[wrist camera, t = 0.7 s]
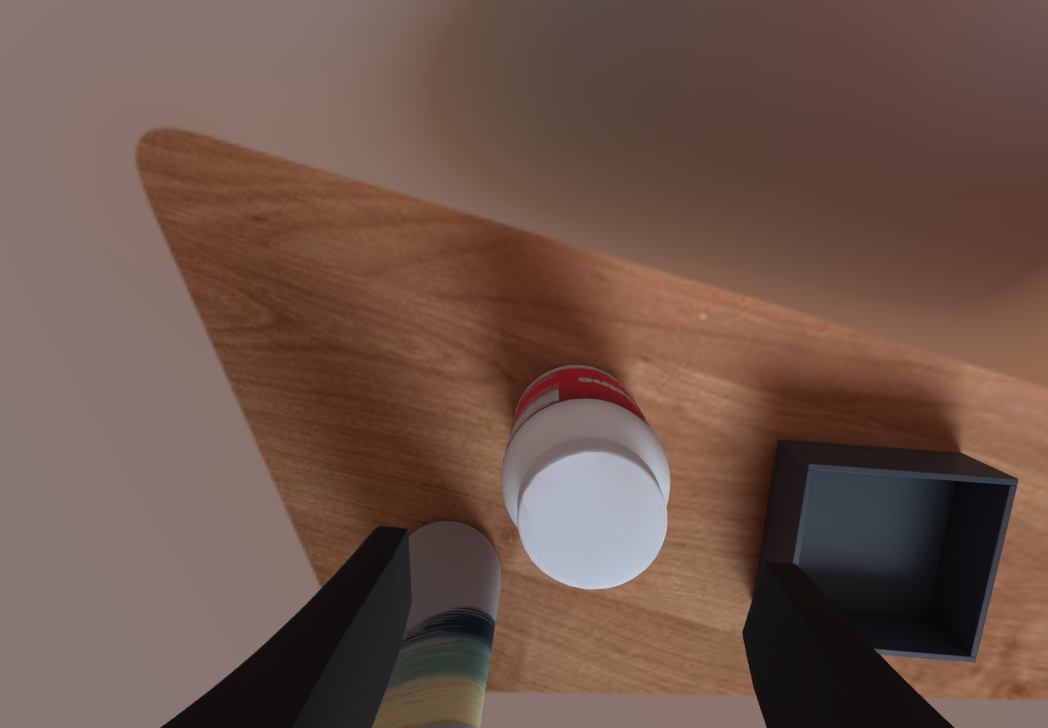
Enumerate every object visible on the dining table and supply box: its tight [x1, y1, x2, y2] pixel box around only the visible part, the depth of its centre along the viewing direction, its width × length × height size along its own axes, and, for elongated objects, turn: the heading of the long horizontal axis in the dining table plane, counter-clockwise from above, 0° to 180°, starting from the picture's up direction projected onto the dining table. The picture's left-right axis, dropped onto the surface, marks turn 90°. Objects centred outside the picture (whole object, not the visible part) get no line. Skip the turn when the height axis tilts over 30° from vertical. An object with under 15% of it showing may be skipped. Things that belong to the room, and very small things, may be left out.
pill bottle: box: [501, 365, 670, 589], centre depth 23 cm, size 6×6×11 cm
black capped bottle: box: [372, 521, 501, 728], centre depth 20 cm, size 6×6×20 cm
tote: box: [755, 440, 1018, 663], centre depth 27 cm, size 9×9×3 cm
